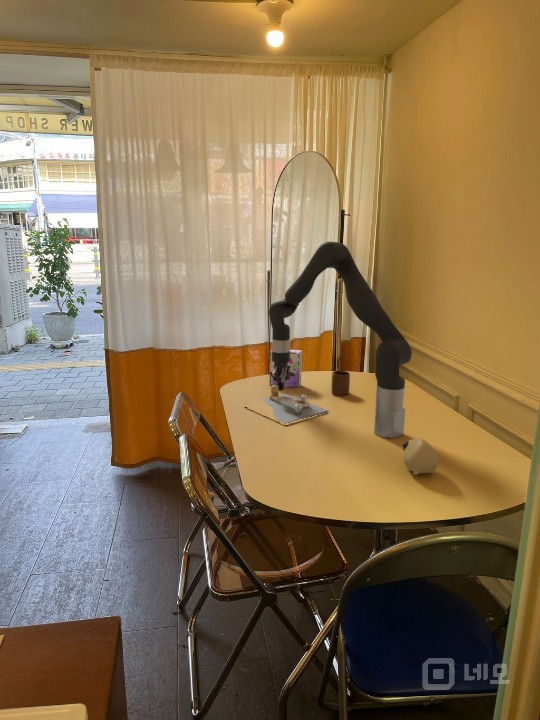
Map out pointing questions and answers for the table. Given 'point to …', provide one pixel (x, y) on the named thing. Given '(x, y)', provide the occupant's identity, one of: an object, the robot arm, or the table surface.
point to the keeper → (295, 404)
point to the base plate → (292, 410)
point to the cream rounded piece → (420, 456)
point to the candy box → (294, 372)
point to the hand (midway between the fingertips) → (280, 390)
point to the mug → (340, 383)
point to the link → (277, 397)
